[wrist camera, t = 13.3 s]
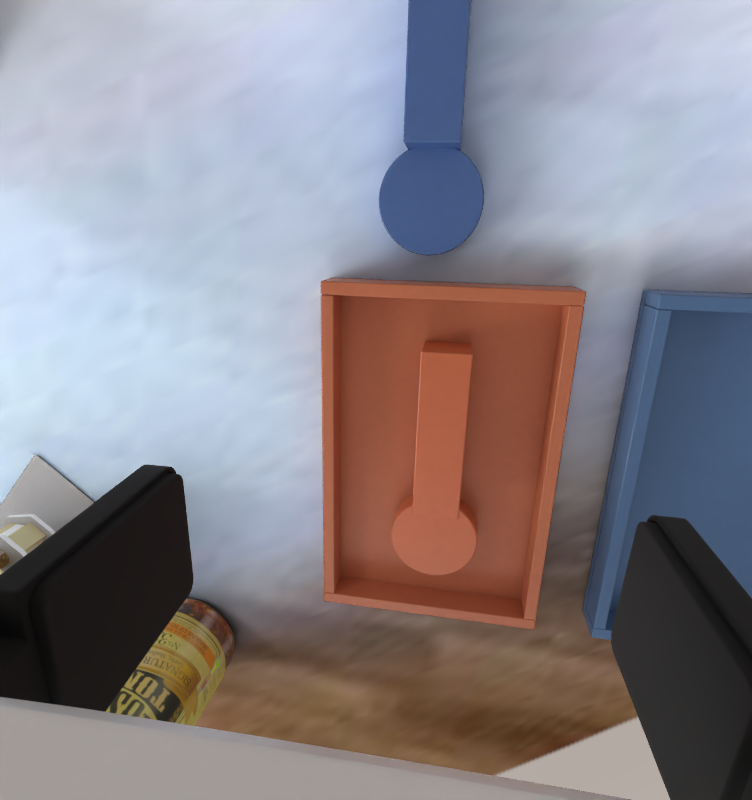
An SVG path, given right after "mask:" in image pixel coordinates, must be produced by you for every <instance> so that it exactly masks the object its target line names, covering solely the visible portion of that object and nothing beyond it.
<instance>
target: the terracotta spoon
mask: <svg viewBox="0 0 752 800" xmlns="http://www.w3.org/2000/svg"><path fill="white" fill-rule="evenodd" d="M472 361H473V352H472V344H471V343H456V342H438V341H425V342H424V345H423V348H422V351H421V359H420V377H419V395H418V413H417V432H416V450H415V468H414V486H413V495H412V496H410V497H409V498H407V499H406V500H405V501H404V502H403V503H402V504H401V505H400V506H399V508H398V509H397V512H396V514H395V517H394V521H393V525H392V530H391V540H392V544H393V547H394V550H395V552H396V553H397V555H398V556H399V558H400V559H401V560H402V561H403V562H404V563H405V564H406V565H407V566H409V567H410V568H412V569H414V570H416V571H418V572H420V573H424V574H428V575H446V574H450V573H453V572H456V571H458V570H460V569H462V568H463V567H464V566H466V565H467V564H468V563H469V561H470V560H471V559H472V557H473V556H474V554H475V551H476V548H477V539H478V538H477V525H476V520H475V517H474V515H473V513H472V511H471V510H470V508H469V507H468V506H467V505H466V504H465V503H464V502H463V501H462V500H460V496H461V484H462V473H463V462H464V451H465V439H466V428H467V417H468V406H469V394H470V383H471V372H472Z"/></svg>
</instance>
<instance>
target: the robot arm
mask: <svg viewBox="0 0 752 800" xmlns="http://www.w3.org/2000/svg"><path fill="white" fill-rule="evenodd" d="M192 585H193V570H192V561H191V551H190V542H189V532H188V523H187V513H186V504H185V495H184V485H183V479H182V477H181V476H180V475H179V474H176V472H175V470H174V469H173V468H172V467H166V466H156V465H143V466H141V467H140V468H139V469H138V470H136V471H135V472H134V473H132V474H131V475H130V476H128V477H127V478H126V479H124V480H123V481H122V482H121V483H119V484H118V485H117V486H115V487H114V488H113V489H111V490H110V491H109V492H108V493H106V494H105V495H104V496H102V497H101V498H100V499H98V500H97V501H96V502H94V503H93V504H92V505H91V506H89V507H88V508H87V509H85V510H84V511H83V512H81V513H80V514H79V515H78V516H76V517H75V518H74V519H72V520H71V521H70V522H68V523H67V524H66V525H65V526H63V527H62V528H61V529H59V530H58V531H57V532H55V533H54V534H53V535H51V536H50V537H49V538H48V539H46V540H45V541H44V542H42V543H41V544H40V545H38V546H37V547H36V548H35V549H33V550H32V551H31V552H29V553H28V554H27V555H25V556H24V557H23V558H21V559H20V560H19V561H18V562H16V563H15V564H14V565H12V566H11V567H10V568H8V569H7V570H6V571H5V572H3V573H2V574H1V575H0V800H630V799H624V798H619V797H614V796H607V795H602V794H596V793H591V792H585V791H579V790H573V789H567V788H562V787H556V786H550V785H544V784H538V783H533V782H527V781H521V780H515V779H509V778H504V777H498V776H492V775H486V774H480V773H474V772H469V771H463V770H457V769H451V768H445V767H440V766H434V765H428V764H422V763H416V762H410V761H404V760H398V759H392V758H386V757H380V756H374V755H368V754H362V753H356V752H350V751H344V750H338V749H332V748H326V747H320V746H314V745H308V744H302V743H295V742H289V741H283V740H277V739H271V738H265V737H259V736H253V735H247V734H241V733H235V732H228V731H222V730H216V729H210V728H203V727H197V726H191V725H185V724H178V723H172V722H166V721H159V720H153V719H147V718H141V717H134V716H128V715H122V714H115V713H109V712H106V710H107V709H108V707H109V706H110V705H111V703H112V702H113V700H114V699H115V698H116V696H117V695H118V693H119V692H120V691H121V689H122V688H123V686H124V685H125V684H126V682H127V681H128V679H129V678H130V677H131V675H132V674H133V672H134V671H135V670H136V668H137V667H138V665H139V664H140V663H141V661H142V660H143V658H144V657H145V656H146V654H147V653H148V651H149V650H150V649H151V647H152V646H153V644H154V643H155V642H156V640H157V639H158V637H159V636H160V635H161V633H162V632H163V630H164V629H165V628H166V626H167V625H168V623H169V622H170V621H171V619H172V618H173V616H174V615H175V614H176V612H177V611H178V609H179V608H180V607H181V605H182V604H183V602H184V601H185V600H186V598H187V597H188V595H189V593H190V591H191V589H192ZM611 644H612V649H613V653H614V655H615V658H616V660H617V663H618V666H619V668H620V671H621V673H622V676H623V678H624V681H625V684H626V686H627V689H628V691H629V694H630V696H631V699H632V702H633V704H634V707H635V709H636V712H637V715H638V717H639V720H640V722H641V725H642V727H643V730H644V732H645V735H646V738H647V740H648V743H649V745H650V748H651V751H652V753H653V755H654V758H655V761H656V763H657V766H658V769H659V771H660V774H661V776H662V779H663V782H664V784H665V787H666V789H667V792H668V794H669V797H670V799H671V800H752V598H751V597H750V596H749V594H748V593H747V592H746V591H745V590H744V588H743V587H742V586H741V585H740V583H739V582H738V581H737V580H736V579H735V577H734V576H733V575H732V574H731V572H730V571H729V570H728V569H727V568H726V566H725V565H724V564H723V563H722V562H721V560H720V559H719V558H718V557H717V555H716V554H715V553H714V552H713V551H712V549H711V548H710V547H709V546H708V544H707V543H706V542H705V541H704V540H703V538H702V537H701V536H700V535H699V534H698V532H697V531H696V530H695V529H694V527H693V526H692V525H691V524H690V523H689V521H687V520H686V519H685V518H677V517H667V516H657V515H652V516H650V517H649V518H648V520H647V522H642V521H641V522H639V524H638V525H637V528H636V531H635V536H634V540H633V544H632V548H631V552H630V556H629V561H628V565H627V569H626V573H625V577H624V581H623V585H622V590H621V594H620V598H619V602H618V606H617V610H616V614H615V619H614V623H613V627H612V632H611Z"/></svg>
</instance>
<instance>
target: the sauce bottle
mask: <svg viewBox="0 0 752 800" xmlns="http://www.w3.org/2000/svg"><path fill="white" fill-rule="evenodd" d="M234 650H235V640H234V634H233V632H232V629H231V628H230V626H229V625H228V623H227V621H226V620H225V619H224V618H223V617H222V616H221V615H220V614H219V613H218V612H217V611H216V610H215V609H213V608H212V607H210V606H209V605H208V604H205V603H203V602H202V601H200V600H194V599H187V598H186V600H185V601H184V602H183V604H182V605H181V607H180V608H179V609H178V611H177V612H176V614H175V615H174V616H173V618H172V619H171V621H170V622H169V623H168V625H167V626H166V628H165V629H164V630H163V632H162V633H161V635H160V636H159V637H158V639H157V640H156V642H155V643H154V644H153V646H152V647H151V649H150V650H149V651H148V653H147V654H146V656H145V657H144V658H143V660H142V661H141V663H140V664H139V665H138V667H137V668H136V670H135V671H134V672H133V674H132V675H131V677H130V678H129V679H128V681H127V682H126V684H125V685H124V686H123V688H122V689H121V691H120V692H119V693H118V695H117V696H116V698H115V699H114V700H113V702H112V703H111V705H110V706H109V707H108V709H107V710H106V712H109V713H115V714H122V715H128V716H134V717H141V718H147V719H153V720H159V721H166V722H172V723H178V724H185V725H191V726H195V724H196V723H197V721H198V719H199V717H200V716H201V714H202V712H203V711H204V709H205V707H206V706H207V704H208V702H209V701H210V699H211V697H212V696H213V694H214V692H215V691H216V689H217V687H218V686H219V684H220V682H221V681H222V679H223V676H224V673H225V669H226V667H227V666H228V664H229V663H230V661H231V659H232V656H233V654H234Z"/></svg>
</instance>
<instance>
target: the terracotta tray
mask: <svg viewBox="0 0 752 800" xmlns="http://www.w3.org/2000/svg"><path fill="white" fill-rule="evenodd" d="M321 294H322V295H321V356H322V447H323V537H324V601H327V602H335V603H342V604H350V605H357V606H364V607H372V608H379V609H387V610H394V611H401V612H409V613H416V614H424V615H431V616H438V617H446V618H453V619H461V620H468V621H475V622H483V623H490V624H498V625H505V626H513V627H520V628H527V629H534V627H535V619H536V614H537V608H538V601H539V595H540V588H541V582H542V575H543V569H544V562H545V556H546V549H547V543H548V536H549V530H550V523H551V517H552V511H553V504H554V498H555V491H556V485H557V478H558V472H559V465H560V459H561V452H562V446H563V439H564V433H565V426H566V420H567V414H568V407H569V401H570V394H571V388H572V381H573V375H574V368H575V362H576V355H577V349H578V342H579V336H580V329H581V323H582V317H583V310H584V306H583V305H584V303H585V297H586V292H585V291H583V290H581V289H578V288H576V287H565V286H539V285H512V284H486V283H459V282H433V281H407V280H380V279H354V278H330V279H327V280H323V281H321ZM425 341H438V342H456V343H471V344H472V352H473V361H472V372H471V383H470V394H469V406H468V417H467V428H466V439H465V451H464V462H463V473H462V484H461V496H460V500H462V501H463V502H464V503H465V504H466V505H467V506H468V507H469V508H470V510H471V511H472V513H473V515H474V517H475V520H476V525H477V538H478V539H477V548H476V551H475V554H474V556H473V557H472V559H471V560H470V561H469V563H468V564H467V565H466V566H464V567H463V568H462V569H460V570H458V571H456V572H453V573H450V574H446V575H428V574H424V573H420V572H418V571H416V570H414V569H412V568H410V567H409V566H407V565H406V564H405V563H404V562H403V561H402V560H401V559H400V558H399V556H398V555H397V553H396V552H395V550H394V547H393V544H392V540H391V530H392V525H393V521H394V517H395V514H396V512H397V509H398V508H399V506H400V505H401V504H402V503H403V502H404V501H405V500H406V499H407V498H409V497H410V496H412V495H413V486H414V468H415V450H416V432H417V413H418V395H419V377H420V359H421V351H422V348H423V345H424V342H425Z"/></svg>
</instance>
